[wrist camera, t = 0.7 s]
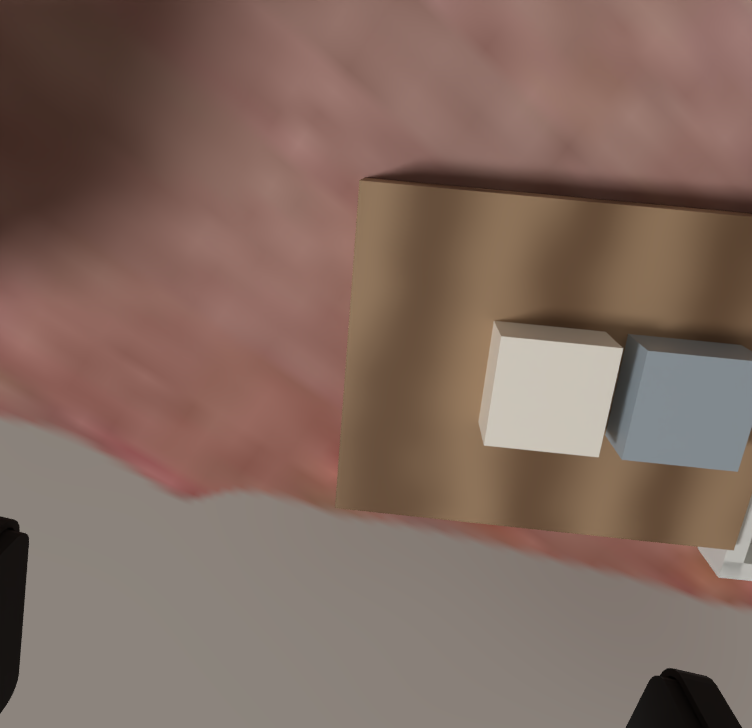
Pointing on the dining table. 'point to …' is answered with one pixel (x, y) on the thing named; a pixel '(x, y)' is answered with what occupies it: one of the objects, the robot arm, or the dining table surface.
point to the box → (734, 553)
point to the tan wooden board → (537, 307)
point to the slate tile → (682, 403)
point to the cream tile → (548, 388)
